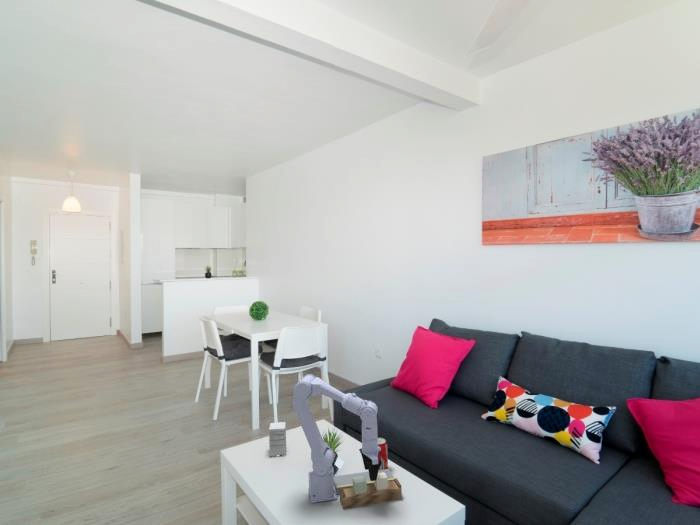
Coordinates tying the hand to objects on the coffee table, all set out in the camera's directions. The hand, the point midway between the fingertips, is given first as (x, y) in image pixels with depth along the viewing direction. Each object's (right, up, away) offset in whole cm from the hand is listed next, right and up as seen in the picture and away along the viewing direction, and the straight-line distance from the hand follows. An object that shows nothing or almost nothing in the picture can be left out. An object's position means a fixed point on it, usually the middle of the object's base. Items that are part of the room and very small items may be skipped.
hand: (370, 474), depth 138 cm
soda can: (+5, -10, +20) cm, 23 cm away
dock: (-2, -9, +10) cm, 14 cm away
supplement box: (-41, -10, +36) cm, 55 cm away
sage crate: (-4, -5, -1) cm, 7 cm away
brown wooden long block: (0, -10, 0) cm, 10 cm away
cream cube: (+4, -5, +1) cm, 7 cm away
